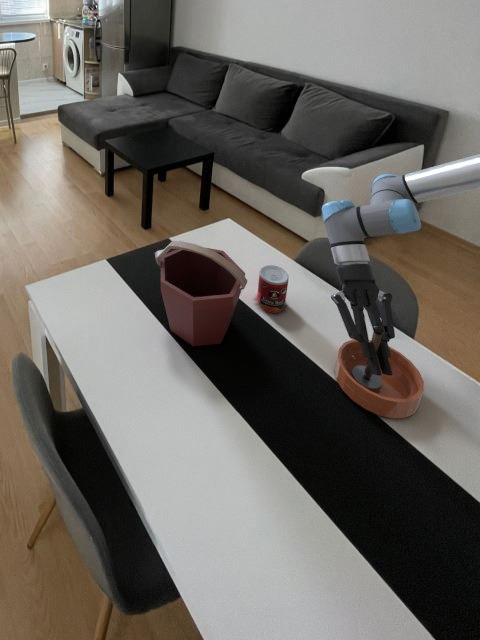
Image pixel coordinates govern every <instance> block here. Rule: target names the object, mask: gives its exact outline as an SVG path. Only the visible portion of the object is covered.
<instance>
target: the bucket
mask: <svg viewBox="0 0 480 640" xmlns="http://www.w3.org/2000/svg"><path fill="white" fill-rule="evenodd" d="M170 250H172V251H170ZM169 251H170V252H169ZM154 257H155V263H156V264H157V265H158V266H159V268H160V294H161V297H162V301H163V306H164V309H165V312H166V318H167V321H168V326H169V329H170V332H172V333H173V334H175V335H176V336H177V337H179V338H181V339H182V340H183V341H185V342H186V343H187V344H189V346H190V345H191V346H192V347H202V346H203V347H204V346H212V345H221V344H222V342H223V340H224V337H225V335H226V334H227V331H228V330H229V327H230V325H231V322H232V319H233V316H234V314H235V310H236V308H237V305H238V302H239V299H240V296H241V293H242V290H244V289H245V288H246V287H247V284H248V279H247V278H246V272H245V271H244V270H243V269H242V268H241V267H240V266H239V265H238V264H237V263H236V261H234V260H233V259H232V258H231V257H230V256H229V255H228V254H227V253H226V252H225V251H224V250H221V249H215V248H210V247H205V246H202V245H199V244H196V243H191V242H187V241H182V240H172V241H171V242H170V243H169V244H168V245H167V246H166V247H165V248H164V249H159V250H157V251H156V252H154Z"/></svg>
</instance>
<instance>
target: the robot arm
mask: <svg viewBox="0 0 480 640" xmlns="http://www.w3.org/2000/svg"><path fill="white" fill-rule="evenodd" d="M476 190H480V153H478V154H474V155H471V156H467V157H464V158H460V159H456V160H452V161H449V162H445V163H442V164H438V165H435V166H430V167H427V168H424V169H420V170H416V171H412V172H410V173H405V174H402V175H401V174H400V175H397V174H394V173H384V174H380V175H379V176H377V177H376V178H375V179H374V180H373V182H372V185H371V188H370V203H369V204H366V205H359V206H356V205H355V204H354V202H353V201H352V200H348V199H341V200H333V201H328V202H326V203H324V204H322V206H321V213H322V218H323V224H324V227H325V231H326V234H327V238H328V242H329V245H330V251H331V254H332V258H333V262H334V264H335V265H337V266H336V268H335V270H336V274H337V278H338V282H339V285H340V286H339V291H338V292H337V293H335V294H331V296H330V299H331V300H332V301H333V303H334V304H335V305H336V308H337V310H338V313H339V315H340V317H341V320H342V322H343V325H344V328H345V330H346V332H347V335H348V337H349V339H350V340H353V339H355V340H357V341H359V343H360V346H361V350H362V353H363V356H364V358H368V362H369V366H370V370H371V374H374V375H378V376H380V375H382V374H385V375H392V371H391V367H390V364H389V360H388V358H391V354H390V350H389V347H390V346H389V344H388V343H389V342H390V340H392V339H395V338H396V333H395V327H394V326H395V325H394V318H393V311H392V299H393V294H392V293H390V292H385V291H382V290H381V289H380V288H379V286H378V285H377V283H376V277H375V274H374V270H373V267H372V265H371V264H369V263H370V261H371V260H370V256H369V252H368V249H367V246H366V242H365V238H371V237H372V238H373V237H383V236H391V235H392V236H393V235H404V234H407V233H413V232H417V231H420V229H421V227H422V222H421V218H420V215H419V211H418V209H417V207H416V204H419V203H423V202H427V201H431V200H432V201H433V200H437V199H441V198H445V197H450V196H454V195H459V194H462V193H467V192H471V191H476ZM377 299H378V300H379V310H378V305H377V303H376V302H377V301H376V300H377ZM346 300H347V302H349V305H350V309H351V310H352V314H351V311H350V309H349V307H348V305H347V304H348V303H346ZM364 310H365V311H366V313H367V316H368V320H369V322H370V325H371V328H372V329H373V326H374V325H376V324H379V325H381V326H382V327H383V328H384V330H385V332H384V334H383V335H382V337H381V341H380V345H379V349H378V353H377V355H376V352H375V348H374V344H373V343H372V342H368V341H369V340H370V339H369V334H368V328H367V323H366V317H365V312H364ZM379 311H380V313H379ZM352 316H353V317H352ZM388 346H389V347H388ZM377 357H378V359H377ZM378 360H379V363H378ZM379 364H380V367H379ZM380 368H381V370H380ZM381 372H382V374H381Z"/></svg>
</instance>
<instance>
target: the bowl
mask: <svg viewBox="0 0 480 640" xmlns="http://www.w3.org/2000/svg"><path fill="white" fill-rule="evenodd" d="M371 340H372V339H369V341H368V342H371ZM388 347H389V350H390V354H391V358H388V360H389V364H390V367H391V371H392V375H385V374H382V372H381V374H382V375H380V377H381V378H382V387H381V389H380V390H379V391H376V392H372V391H370V390H368V389H366V388H365V387H363V386H362V385H360V384H359V383H358V382H357V381H356V380H355V379H353V378H352V376H351V374H352V370H353V368H354V367H355V366H358V365H362V366H365V365H366V361H367V358H364V356H363V353H362V350H361V346H360V343H359V341H357V340H355V339H349V340H348V341H345V342H343V343H342V344H341V346H340V347H338V352H337V357H336V362H335V367H334V375H335V380H336V382H337V383H338V385H339V387H340V389H341V390H342V392H344V393H345V394H346V395H347V396H348V398H349V399H351V400H352V401H353V402H354V403H355V404H357V405H359V406H360V407H361V408H363V409H365V410H366V411H367V412H371V413H372V414H375V415H378V416H380V417H383V418H389V419H407V418H408V417H410V416H412V415H414V414H415V413H416V412H417V410H418V408H419V407H420V403H421V400H422V398H423V394H424V391H425V383H424V382H425V381H424V379H423V377H422V374H421V372H420V370H419V369H418V368H417V367H416V366H415V365H414V363H413V362H412V360H410V359H409V358H408V357H406V356H405V355H404V354H402V353H401V352H400V351H398V350H397V349H394V348H393V347H391V346H389V345H388ZM377 359H378V357H377ZM378 363H379V360H378ZM379 367H380V364H379ZM380 370H381V368H380Z"/></svg>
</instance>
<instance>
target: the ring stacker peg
mask: <svg viewBox="0 0 480 640" xmlns="http://www.w3.org/2000/svg"><path fill="white" fill-rule="evenodd" d="M372 331H373V332H372V336H371V339H370V340H371V342H372V343H373V344H374V348H375V352H376V355H377V353H378V349H379V345H380V341H381V337H382V335H383V334H384V332H385V330H384V328H383V327H382V326H381V325H379V324H376V325H374V326H373V328H372ZM351 376H352V378H353V379H355V380H356V381H357V382H358V383H359V384H360V385H362V386H363V387H365V388H366V389H368V390H370V391H372V392H376V391H379V390H380V389H381V387H382V378H381V377H380V376H378V375H374V374H371V370H370V366H369V362H368V358H367V361H366V365H365V366H362V365H358V366H355V367H354V368H353V370H352V374H351Z"/></svg>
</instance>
